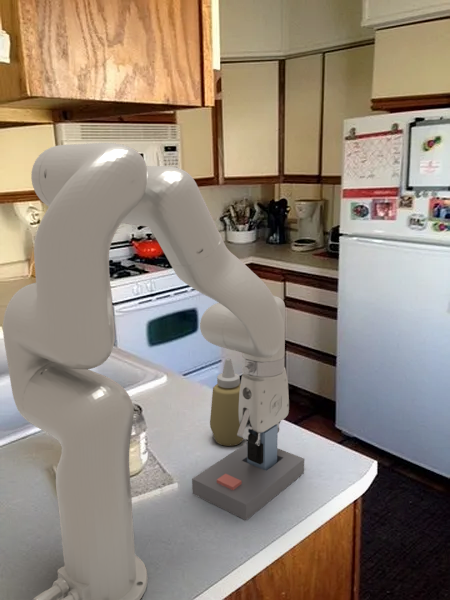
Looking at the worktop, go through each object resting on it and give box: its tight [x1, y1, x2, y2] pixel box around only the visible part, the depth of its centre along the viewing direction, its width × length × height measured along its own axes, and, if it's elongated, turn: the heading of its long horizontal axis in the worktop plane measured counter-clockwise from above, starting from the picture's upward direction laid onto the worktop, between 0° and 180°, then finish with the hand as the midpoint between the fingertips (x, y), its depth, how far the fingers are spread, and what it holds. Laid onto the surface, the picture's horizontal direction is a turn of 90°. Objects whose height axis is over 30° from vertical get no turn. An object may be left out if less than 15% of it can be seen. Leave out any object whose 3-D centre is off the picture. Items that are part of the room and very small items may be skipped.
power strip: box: [191, 442, 305, 521], centre depth 101 cm, size 18×12×4 cm, turn 141°
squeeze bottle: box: [209, 358, 244, 447], centre depth 115 cm, size 8×8×18 cm
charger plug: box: [246, 424, 279, 471], centre depth 103 cm, size 4×4×8 cm
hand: (262, 455), depth 103 cm, fingers closed on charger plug, 3 cm apart
